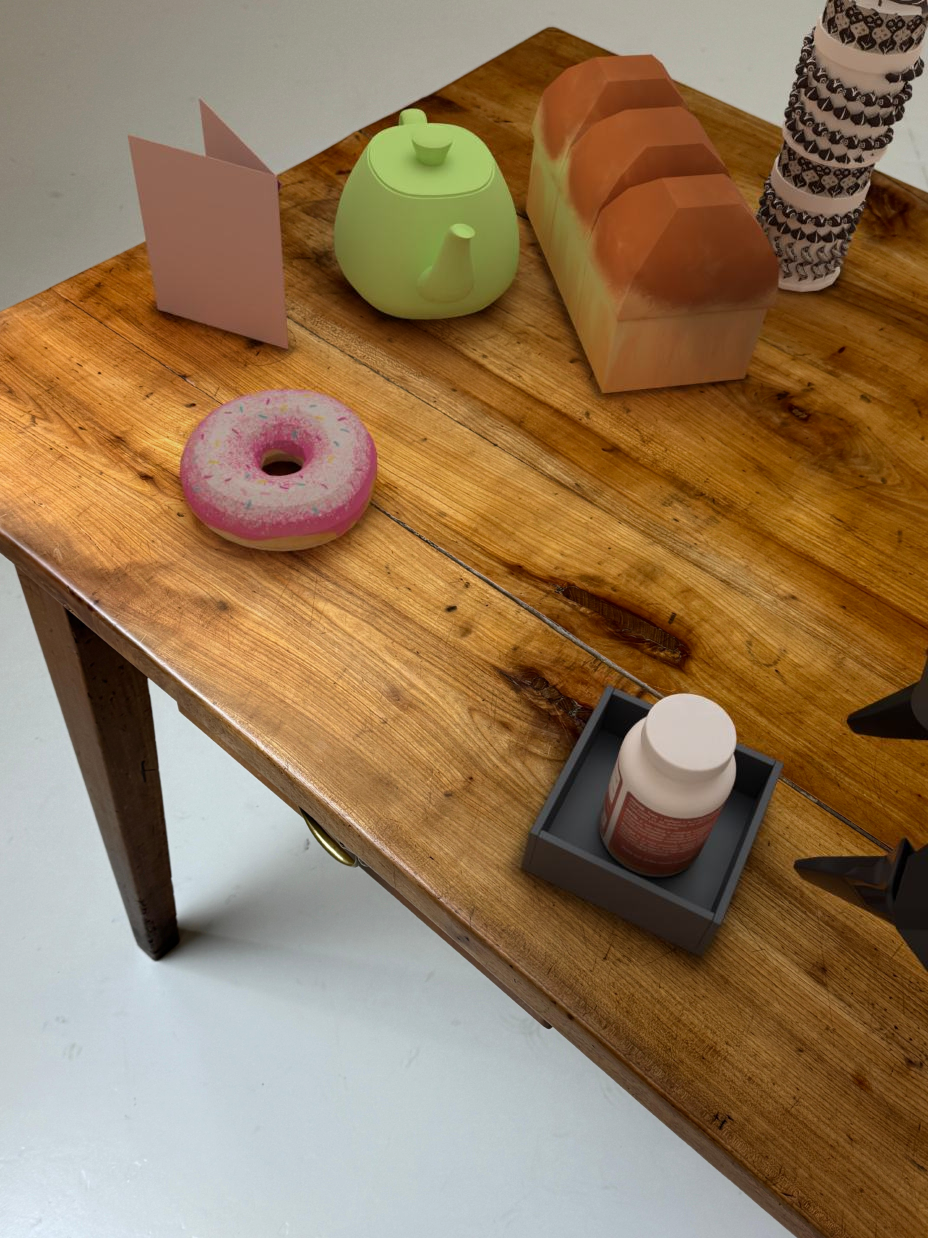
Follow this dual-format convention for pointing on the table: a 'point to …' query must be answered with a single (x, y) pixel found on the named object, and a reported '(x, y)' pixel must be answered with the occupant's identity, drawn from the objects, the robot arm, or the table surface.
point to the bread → (646, 229)
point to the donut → (279, 505)
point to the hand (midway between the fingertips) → (825, 794)
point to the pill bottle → (669, 785)
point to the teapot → (427, 222)
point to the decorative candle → (838, 132)
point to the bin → (585, 868)
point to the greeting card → (213, 232)
